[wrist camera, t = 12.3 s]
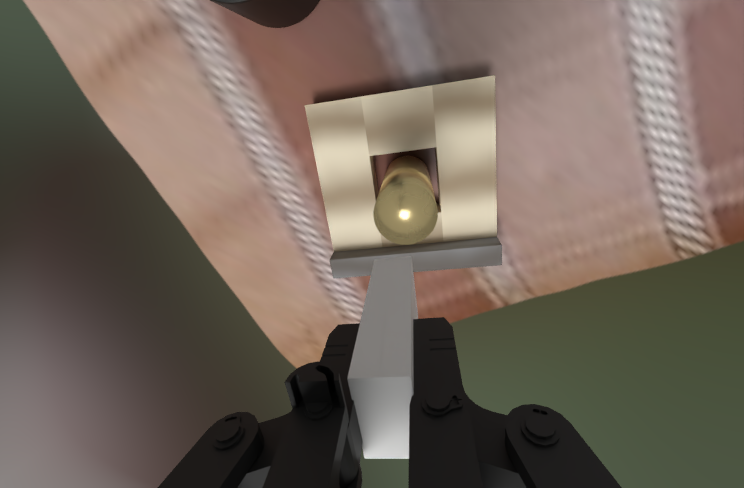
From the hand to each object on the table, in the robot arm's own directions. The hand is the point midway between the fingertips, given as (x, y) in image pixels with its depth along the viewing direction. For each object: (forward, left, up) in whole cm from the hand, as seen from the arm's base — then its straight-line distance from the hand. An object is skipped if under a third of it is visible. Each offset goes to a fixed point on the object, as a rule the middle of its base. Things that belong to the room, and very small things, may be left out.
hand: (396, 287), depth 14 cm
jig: (0, 0, -22) cm, 22 cm away
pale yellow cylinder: (0, 0, -22) cm, 22 cm away
